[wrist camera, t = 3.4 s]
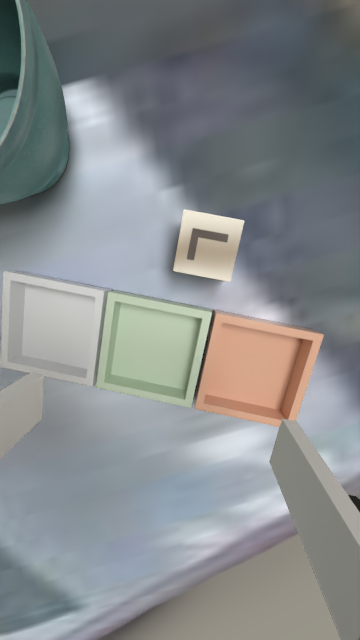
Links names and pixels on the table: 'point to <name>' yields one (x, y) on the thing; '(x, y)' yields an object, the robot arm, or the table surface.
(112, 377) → the box sage
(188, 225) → the letter cube
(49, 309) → the box grey
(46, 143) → the flower pot
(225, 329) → the box terracotta
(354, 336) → the table surface
